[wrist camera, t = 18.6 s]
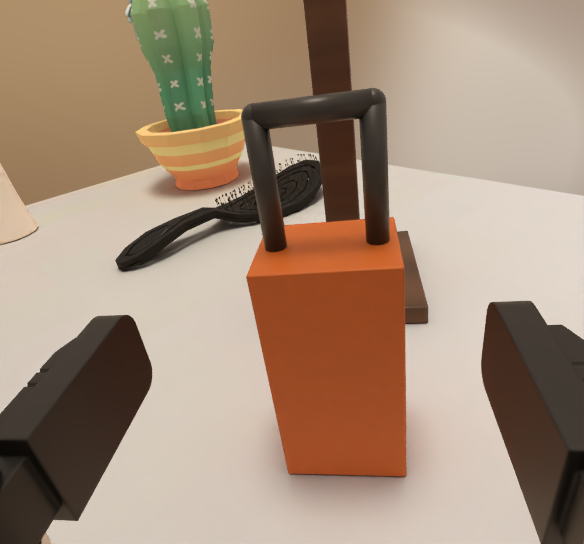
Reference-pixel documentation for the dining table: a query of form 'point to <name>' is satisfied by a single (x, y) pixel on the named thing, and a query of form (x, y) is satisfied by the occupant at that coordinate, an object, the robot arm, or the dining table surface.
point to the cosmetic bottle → (13, 213)
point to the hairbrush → (229, 211)
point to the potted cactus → (186, 94)
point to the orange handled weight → (331, 303)
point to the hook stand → (346, 136)
